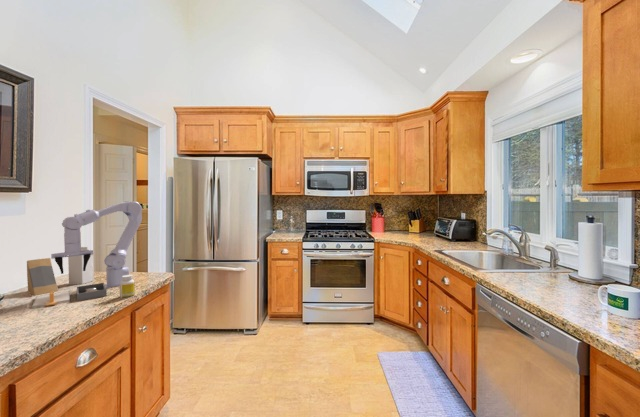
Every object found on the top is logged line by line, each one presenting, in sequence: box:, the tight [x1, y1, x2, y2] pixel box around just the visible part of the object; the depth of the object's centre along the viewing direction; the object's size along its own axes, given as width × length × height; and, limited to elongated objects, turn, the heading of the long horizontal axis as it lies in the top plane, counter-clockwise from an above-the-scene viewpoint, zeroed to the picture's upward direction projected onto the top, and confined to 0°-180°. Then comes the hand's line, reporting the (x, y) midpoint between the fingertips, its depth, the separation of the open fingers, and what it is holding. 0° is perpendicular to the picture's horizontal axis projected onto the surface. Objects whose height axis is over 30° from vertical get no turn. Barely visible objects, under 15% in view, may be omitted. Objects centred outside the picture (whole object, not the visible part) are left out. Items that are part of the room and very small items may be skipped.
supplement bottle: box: [119, 274, 136, 300], centre depth 126 cm, size 5×5×10 cm
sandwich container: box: [26, 257, 59, 297], centre depth 135 cm, size 9×15×15 cm, turn 54°
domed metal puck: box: [85, 287, 97, 291], centre depth 132 cm, size 4×4×2 cm
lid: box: [31, 290, 71, 309], centre depth 121 cm, size 11×17×5 cm, turn 41°
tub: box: [76, 282, 108, 302], centre depth 129 cm, size 10×14×4 cm
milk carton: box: [67, 246, 94, 286], centre depth 150 cm, size 7×7×19 cm
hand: (73, 272), depth 131 cm, fingers open, 7 cm apart
